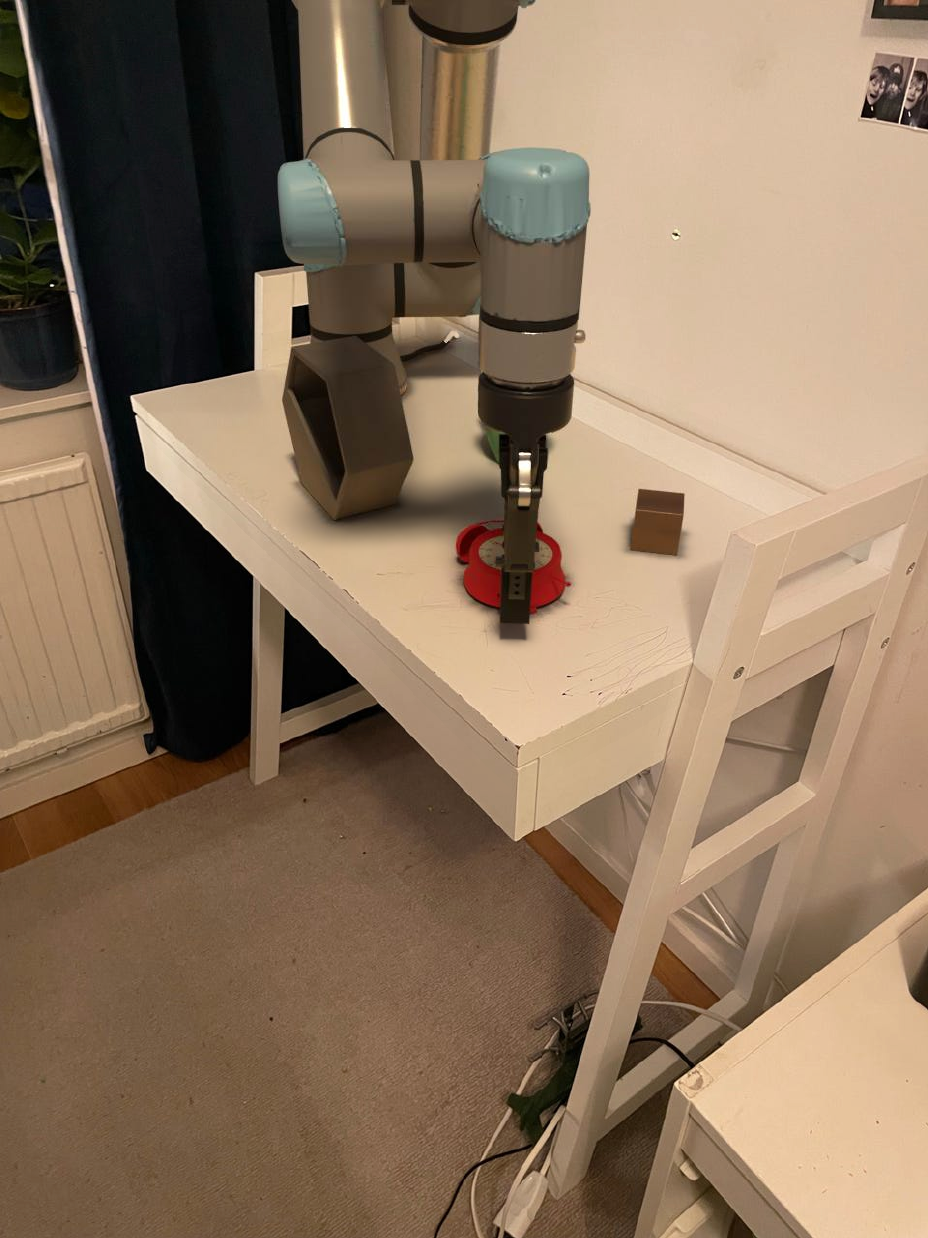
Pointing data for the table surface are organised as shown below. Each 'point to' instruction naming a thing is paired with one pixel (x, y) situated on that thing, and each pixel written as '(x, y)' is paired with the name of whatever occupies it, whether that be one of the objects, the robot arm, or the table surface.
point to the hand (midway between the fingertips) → (514, 618)
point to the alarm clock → (486, 578)
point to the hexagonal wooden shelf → (347, 425)
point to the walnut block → (658, 521)
